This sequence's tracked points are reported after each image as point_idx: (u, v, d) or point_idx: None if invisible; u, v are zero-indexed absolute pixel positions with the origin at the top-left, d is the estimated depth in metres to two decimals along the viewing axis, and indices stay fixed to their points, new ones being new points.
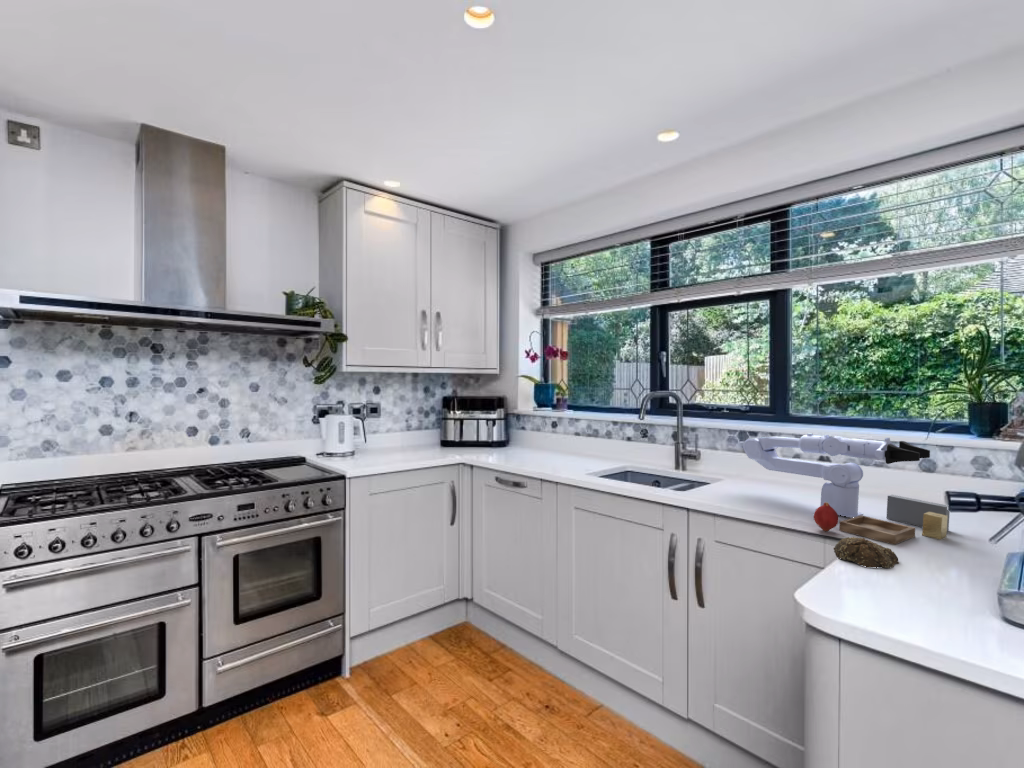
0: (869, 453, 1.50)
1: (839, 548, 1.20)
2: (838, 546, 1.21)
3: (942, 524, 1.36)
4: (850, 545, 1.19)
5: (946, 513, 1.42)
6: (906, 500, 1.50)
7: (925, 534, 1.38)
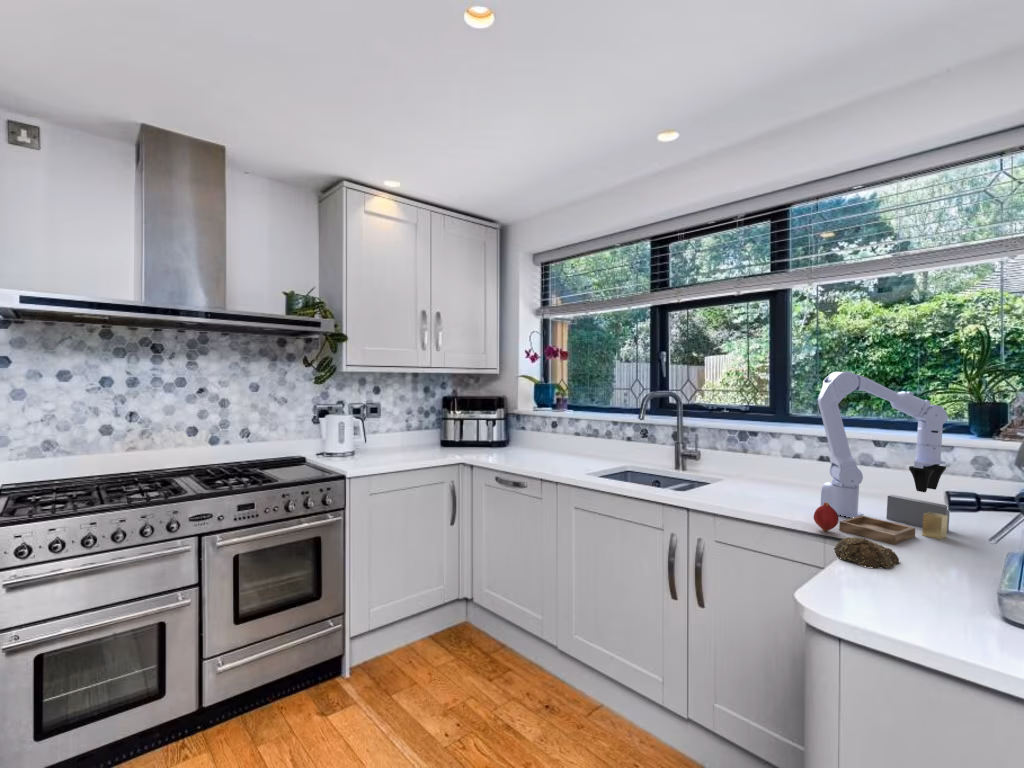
0: (921, 449, 1.51)
1: (840, 548, 1.20)
2: (839, 546, 1.21)
3: (942, 524, 1.36)
4: (851, 545, 1.19)
5: (946, 513, 1.42)
6: (906, 500, 1.50)
7: (925, 534, 1.38)
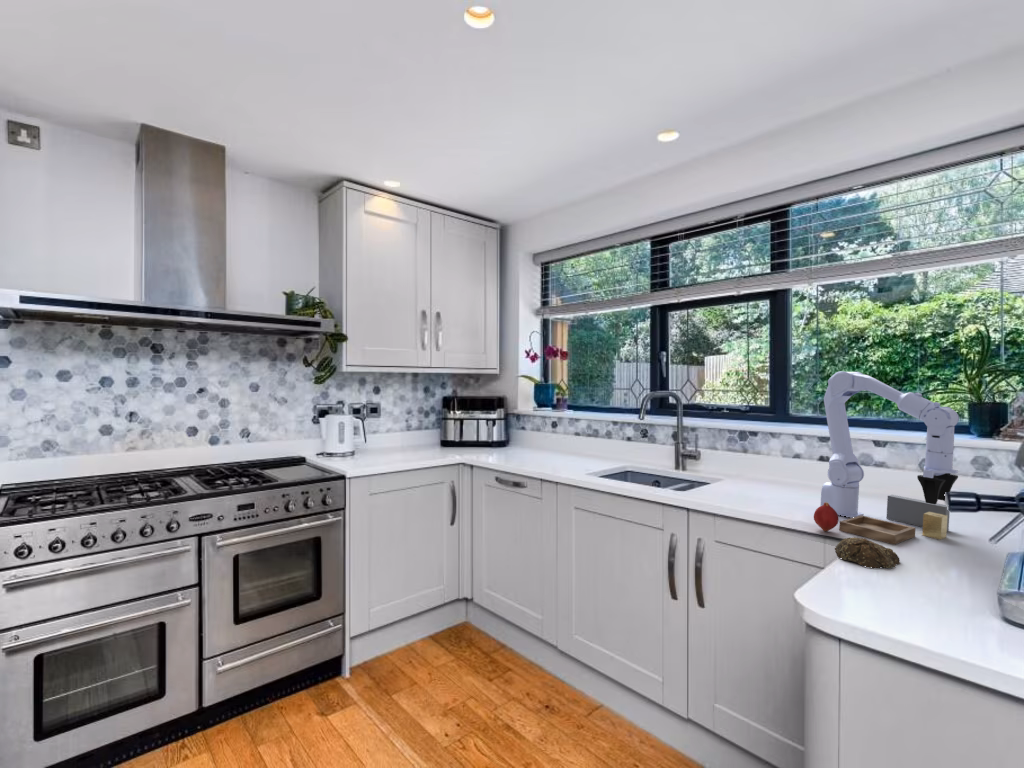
0: (931, 456, 1.37)
1: (840, 548, 1.20)
2: (839, 546, 1.21)
3: (942, 524, 1.36)
4: (852, 545, 1.19)
5: (946, 513, 1.42)
6: (906, 500, 1.50)
7: (925, 534, 1.38)
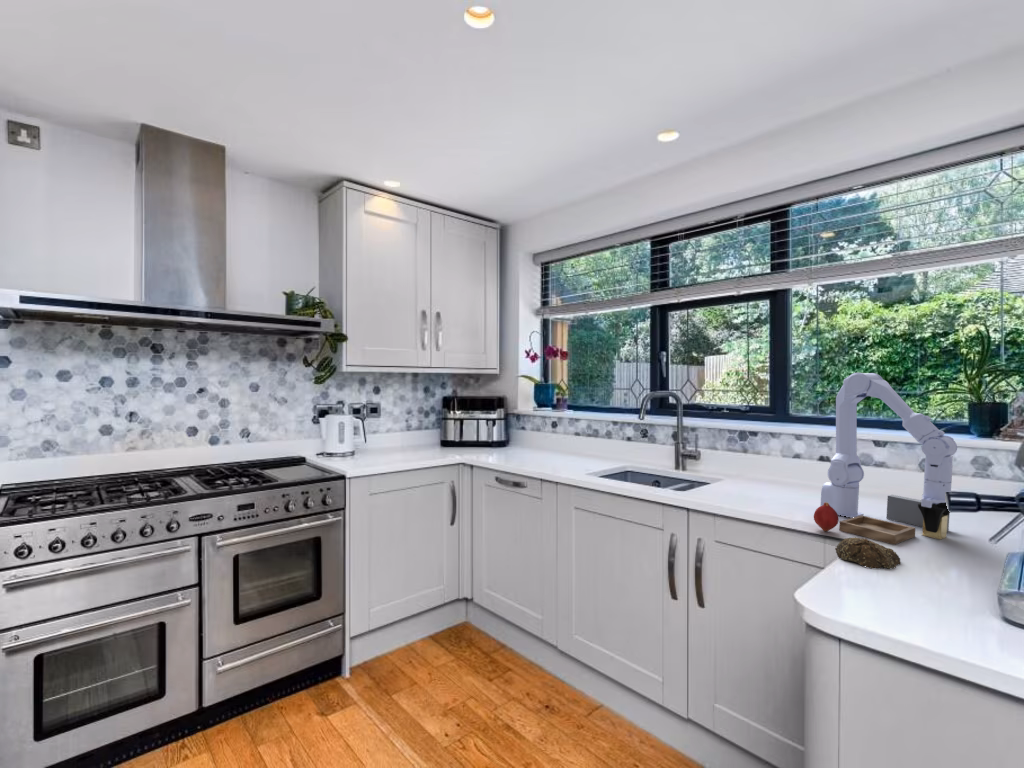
0: (929, 485, 1.37)
1: (841, 548, 1.20)
2: (840, 546, 1.21)
3: (942, 524, 1.36)
4: (852, 545, 1.18)
5: None
6: (906, 500, 1.50)
7: (925, 534, 1.38)
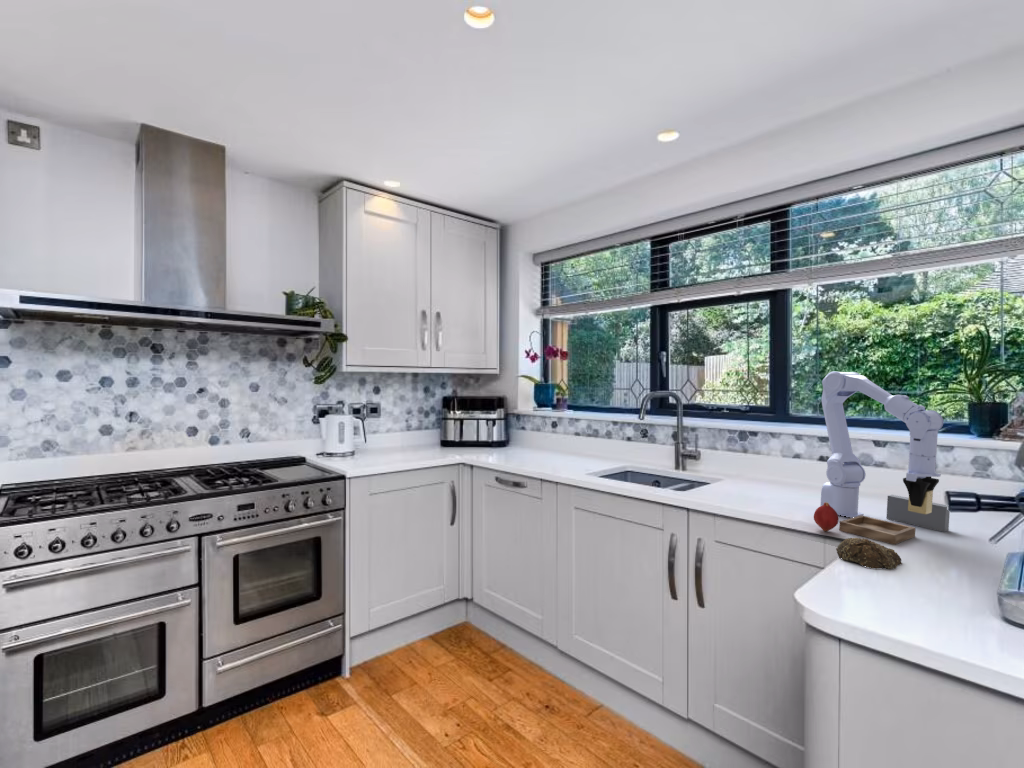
0: (914, 459, 1.37)
1: (842, 549, 1.20)
2: (841, 547, 1.21)
3: (927, 499, 1.36)
4: (853, 545, 1.18)
5: (946, 513, 1.42)
6: (906, 500, 1.50)
7: (911, 509, 1.38)
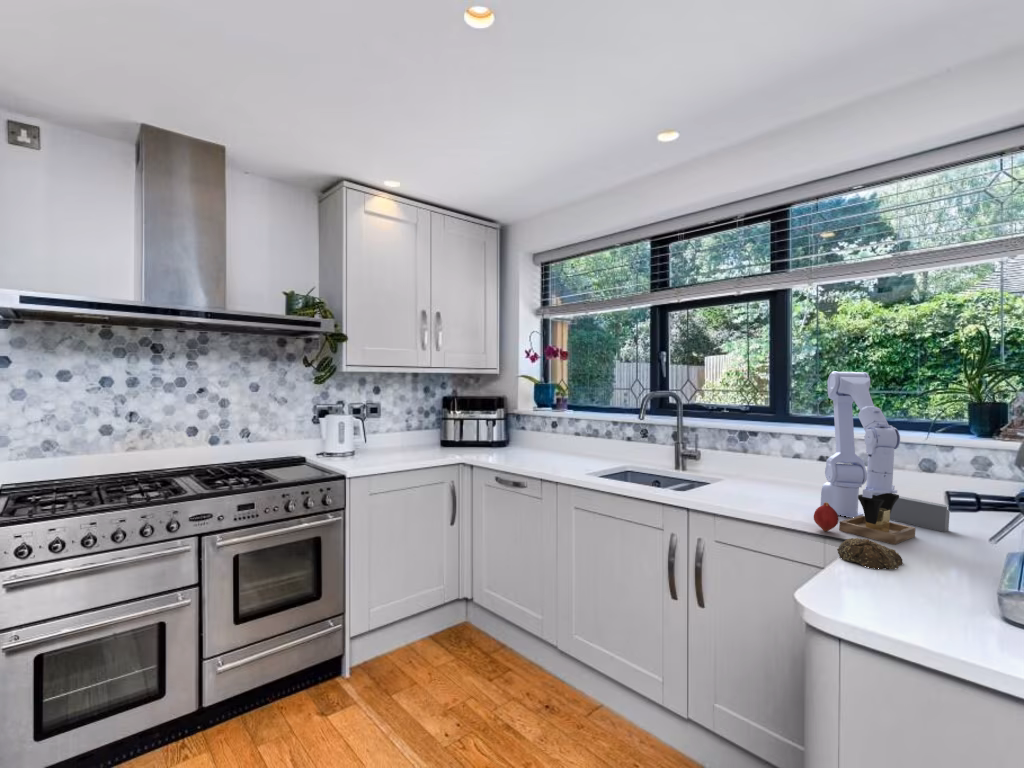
0: (871, 476, 1.38)
1: (843, 549, 1.19)
2: (842, 547, 1.21)
3: (884, 518, 1.36)
4: (854, 546, 1.18)
5: (946, 513, 1.42)
6: (906, 500, 1.50)
7: None
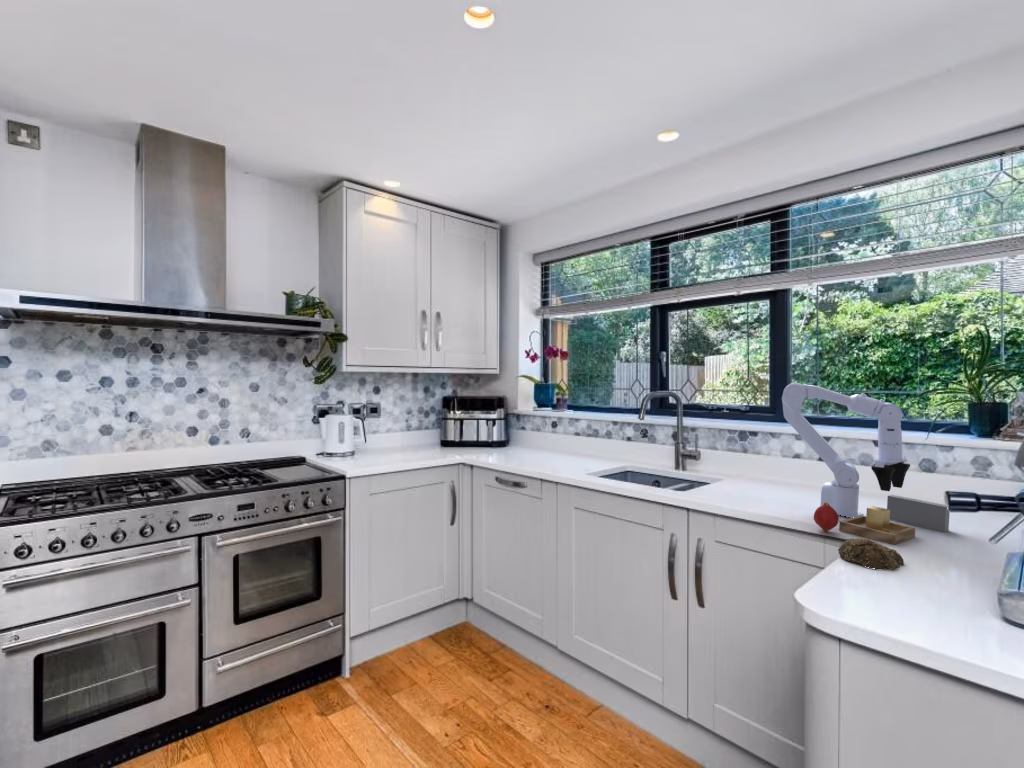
0: (882, 448, 1.51)
1: (844, 549, 1.19)
2: (843, 547, 1.20)
3: (884, 518, 1.36)
4: (855, 546, 1.18)
5: (946, 513, 1.42)
6: (906, 500, 1.50)
7: None
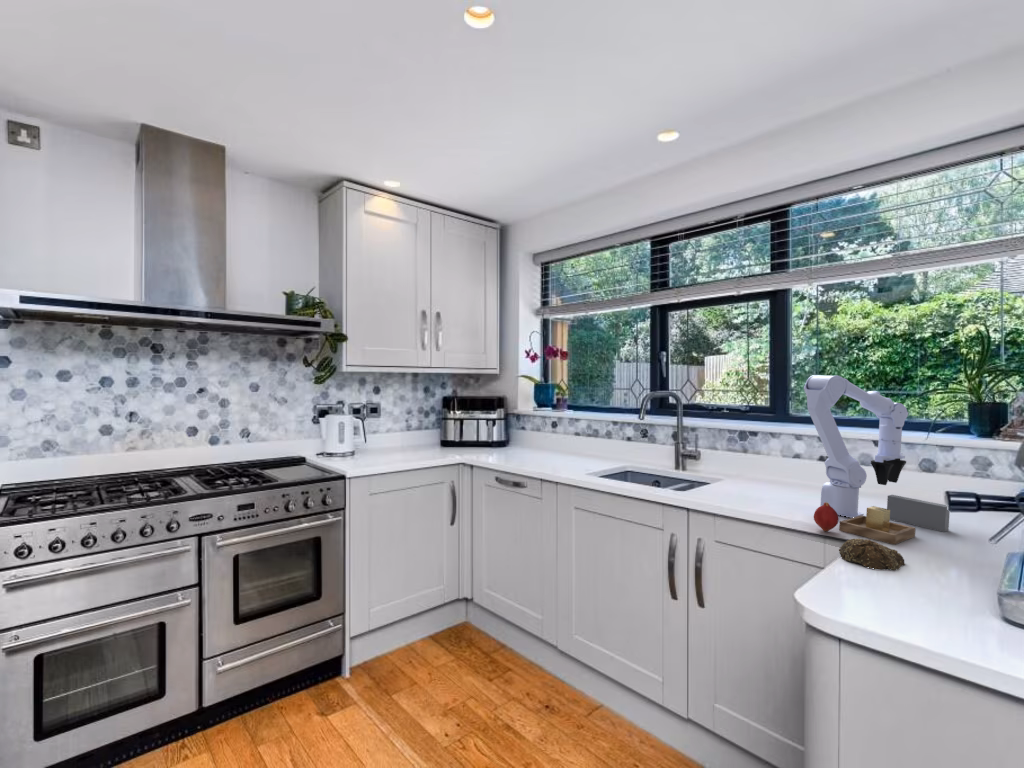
0: (882, 444, 1.59)
1: (844, 549, 1.19)
2: (843, 547, 1.20)
3: (884, 518, 1.36)
4: (856, 546, 1.18)
5: (946, 513, 1.42)
6: (906, 500, 1.50)
7: None
